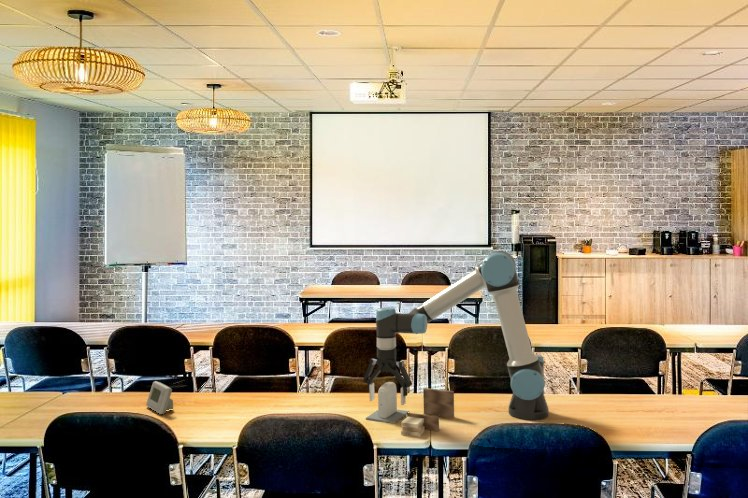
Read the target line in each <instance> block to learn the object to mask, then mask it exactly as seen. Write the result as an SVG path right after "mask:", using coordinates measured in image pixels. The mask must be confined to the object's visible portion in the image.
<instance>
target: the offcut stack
mask: <svg viewBox="0 0 748 498" xmlns="http://www.w3.org/2000/svg"><path fill="white" fill-rule="evenodd" d="M423 423H424V418H416V417H407V416H406V418H404V420H402V421H401V422H400V427H402V429H401V430H400V435H402V436H412V437H421V436H422V434H423V433H424V432H425V430H426V429H425V426H423Z"/></svg>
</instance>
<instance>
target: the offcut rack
mask: <svg viewBox="0 0 748 498" xmlns="http://www.w3.org/2000/svg"><path fill="white" fill-rule="evenodd" d="M422 390H423V392H422V393H423V394H422V395H423V398H422V399H423V414H421V413H420V414H419V413H415V412H414V413H413V412H409V413H407V415H406V418H407V417H416V418H424V423H423V426H425V430H427V431H434V432H440V418H441V417H442V418H451V419H454V418H455V391H454V390H445V389H436V388H428V387H424V388H423V389H422Z"/></svg>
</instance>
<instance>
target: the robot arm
mask: <svg viewBox="0 0 748 498" xmlns="http://www.w3.org/2000/svg"><path fill="white" fill-rule="evenodd" d="M516 267H517V266H516V261H515V259H514V257H513V256H512V255H511V253H510V254H509V252H506V251H503V250H497V251H494V252H491V253H490V254H488V255H487V256H485V257H484V259H483V261H482V262H480V263H479V264H477V265H476V266H475V270H473V271H471V272H470V273H468V274H466V275H465V276H463V277H462V278H460V279H458V280H457V281H456V282H454V283H453V284H451V285H449V286H447V288H445V289H443V290H441V291H440V292H439V293H437V294H435V295H434V296H432V297H431V298H429V299H427V300H426V301H424V302H423V303H422V304H420V305H418V306H417V307H414V308H413V309H412V310H411V311H409V312H408V313H398V312H396V308H394V307H387V306H386V307H380V308H378V309H376V313H375V315H376V316H375V317H376V318H375V325H376V326H375V327H376V358H377V359H376V358H374V357H373V358H370V359H369V363H368V367H367V370H366V371H365V374H364V375H363V379H362V382H363V383H366V384H367V392H368V393H369V401H370V402H372V401H374V400H375V383H374V382H373V381H374V380H375V379H376V378H377V377H378V376H379V374H380V373H381V372H382V373H385V372H386V373H391V374H392V375H393V377H395V379H396V380H397V381H398V383H399V384H400V386H401V387H400V405H401V406H403V405H405V404H406V403H407V402H406V397H407V396H408V388H409V387H411V386H412V385H413V382H412V380H411V377H410V375H409V374H408V371H407V368H406V367H405V366H406V365H405V362H404V360H401V361H398V360H397V348H396V347H397V334H413V335H414V334H415V335H419V334H420V335H421V334H425V333H426V332H427V329H428V324H429V323H430V322H431V321H433V320H435V319H436V318H438V317H439V316H441V315H443V314H444V313H445V312H446V313H447V311H449V310H451V309H452V308H453V307H456V306H457V305H458V304H460V303H461V302H463V301H465V300H466V299H468V298H470V297H471V296H473V295H475V294H476V293H478V292H479V291H481V290H482V289H484V288H485V287H486V288H487V292H488V294H490V295H491V296H492V297H493V300H494V302H495V307H496V311H497V314H498V319H499V324H500V326H501V330H502V335H503V338H504V342H505V346H506V349H507V353H508V357H509V358H508V361H507V363H506V367H507V371H508V375H509V377H510V382H509V383H510V388H511V391H512V395H511V398H510V400H509V404H508V414H509V415H510V416H511V417H514V418H517V419H521V420H529V421H530V420H542V419H545V418H547V417H549V416H550V415H549V410H550V409H549V405H548V403H547V400H546V396H545V387H546V386H545V385H546V383H545V375H544V374H545V373H544V372H545V371H544V370H545V368H544V367H545V365H544V364H545V360H544V357H543V356H542V355H539V354H534V352H533V349H532V345H531V340H530V337H529V333H528V330H527V325H526V321H525V319H524V317H525V316H524V313H523V309H522V306H521V302H520V299H519V294H518V291H517V290H518V288H519V286H520V282H519V281H520V280H519V278H518V274H517V269H516ZM375 365H377V368H376V369H375V371H374V372H373V370H374V367H375ZM397 367H398V368H397ZM372 372H373V374H372Z"/></svg>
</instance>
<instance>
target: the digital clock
mask: <svg viewBox="0 0 748 498" xmlns="http://www.w3.org/2000/svg"><path fill="white" fill-rule="evenodd" d="M172 391H173V389H172V388H171V387H170V386H168V385H166V384H164V383H162V382H160V381H158V380H157V381H156V380H155V381H153V382H152V385H151V388H150V392H149V394H148V397H147V401H146V404H145V405H146V407H147V408H148V409H150V408H151V409H152V410H151V409H150V410H151V411H153V410H154V411H156V412H157V414H158V413H159V414H158V415H160V414H163V415H164V413H165V414H166V413H167V412H166V410H169V409H173V410H174V400H173V398H171V395H172ZM154 411H153V412H154ZM156 412H155V413H156Z"/></svg>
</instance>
